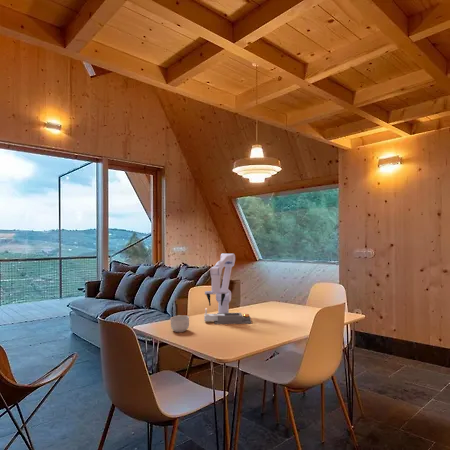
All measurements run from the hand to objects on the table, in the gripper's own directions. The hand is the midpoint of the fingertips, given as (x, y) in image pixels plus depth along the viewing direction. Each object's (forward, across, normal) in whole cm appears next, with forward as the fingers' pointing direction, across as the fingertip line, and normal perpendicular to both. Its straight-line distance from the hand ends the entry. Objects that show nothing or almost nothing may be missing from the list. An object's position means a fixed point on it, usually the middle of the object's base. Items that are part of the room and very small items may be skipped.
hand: (215, 305), depth 244 cm
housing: (+9, +10, -6) cm, 15 cm away
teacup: (+10, -22, -26) cm, 35 cm away
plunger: (+8, +19, -6) cm, 22 cm away
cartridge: (+8, -1, -6) cm, 10 cm away
